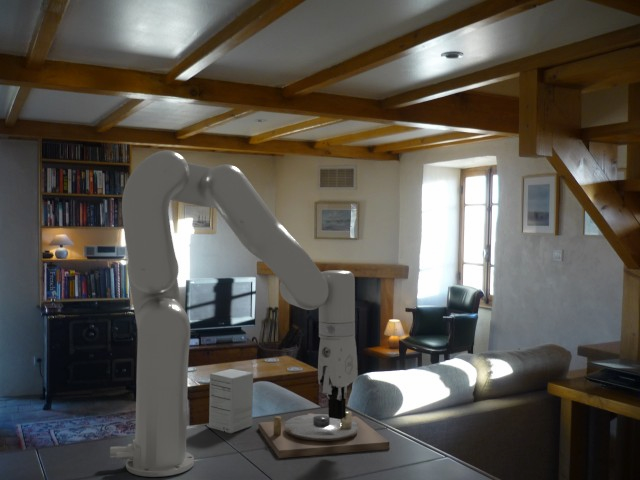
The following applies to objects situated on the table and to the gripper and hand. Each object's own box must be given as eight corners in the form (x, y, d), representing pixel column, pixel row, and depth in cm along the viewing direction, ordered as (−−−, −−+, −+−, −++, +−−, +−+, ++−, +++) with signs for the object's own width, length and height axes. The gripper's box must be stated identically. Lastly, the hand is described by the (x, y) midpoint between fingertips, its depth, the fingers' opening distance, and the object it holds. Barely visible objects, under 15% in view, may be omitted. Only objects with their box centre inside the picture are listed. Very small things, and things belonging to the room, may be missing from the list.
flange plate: (295, 443, 130) (296, 420, 130) (276, 420, 147) (277, 400, 147) (368, 437, 135) (368, 415, 135) (342, 416, 151) (342, 396, 151)
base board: (278, 458, 127) (279, 431, 127) (258, 428, 146) (259, 405, 146) (389, 448, 134) (389, 423, 134) (356, 422, 154) (356, 400, 154)
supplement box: (230, 420, 153) (231, 368, 153) (253, 426, 148) (254, 372, 148) (207, 427, 147) (208, 372, 147) (231, 433, 142) (232, 377, 142)
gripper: (337, 336, 124) (337, 430, 124) (367, 326, 137) (367, 411, 137) (303, 333, 128) (303, 424, 128) (336, 324, 141) (336, 406, 141)
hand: (337, 417), depth 133 cm, fingers closed
